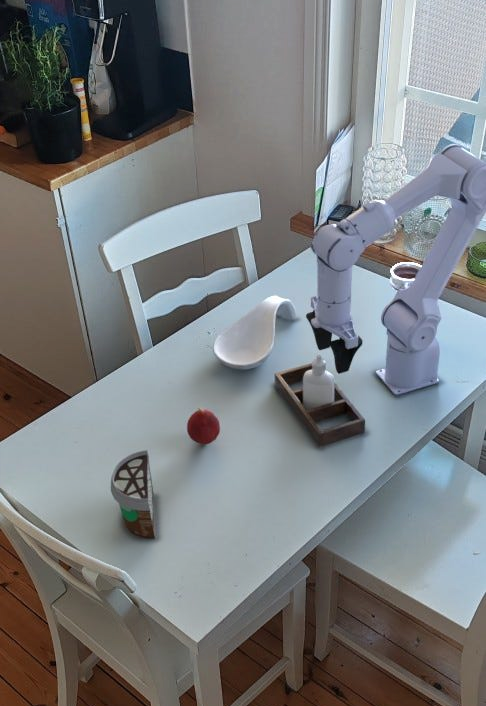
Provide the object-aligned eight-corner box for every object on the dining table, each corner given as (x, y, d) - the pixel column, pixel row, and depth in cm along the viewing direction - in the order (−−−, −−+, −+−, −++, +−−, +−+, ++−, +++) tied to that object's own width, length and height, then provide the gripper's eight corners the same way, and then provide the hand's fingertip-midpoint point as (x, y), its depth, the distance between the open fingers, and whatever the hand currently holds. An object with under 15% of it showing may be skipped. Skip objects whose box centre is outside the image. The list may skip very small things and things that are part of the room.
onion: (225, 435, 167) (222, 401, 161) (214, 456, 163) (211, 421, 157) (195, 430, 168) (192, 395, 163) (184, 450, 164) (179, 415, 159)
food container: (118, 495, 157) (109, 451, 150) (154, 491, 157) (147, 447, 150) (116, 548, 148) (107, 505, 141) (155, 545, 148) (147, 501, 141)
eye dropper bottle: (321, 420, 168) (322, 368, 160) (299, 407, 172) (298, 355, 163) (337, 409, 171) (339, 357, 162) (315, 396, 174) (315, 344, 166)
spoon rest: (254, 385, 177) (253, 354, 172) (203, 368, 182) (200, 338, 177) (311, 322, 192) (311, 292, 187) (261, 308, 197) (260, 279, 192)
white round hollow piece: (422, 331, 187) (427, 279, 179) (388, 332, 188) (392, 281, 180) (418, 312, 192) (423, 261, 184) (385, 313, 193) (389, 262, 185)
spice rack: (317, 373, 179) (318, 361, 177) (364, 432, 166) (365, 420, 163) (274, 386, 177) (274, 373, 175) (318, 447, 163) (319, 434, 161)
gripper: (294, 279, 160) (295, 343, 169) (331, 322, 150) (330, 388, 159) (331, 269, 161) (330, 334, 171) (370, 311, 151) (367, 377, 161)
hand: (333, 359), depth 165 cm, fingers open, 7 cm apart
